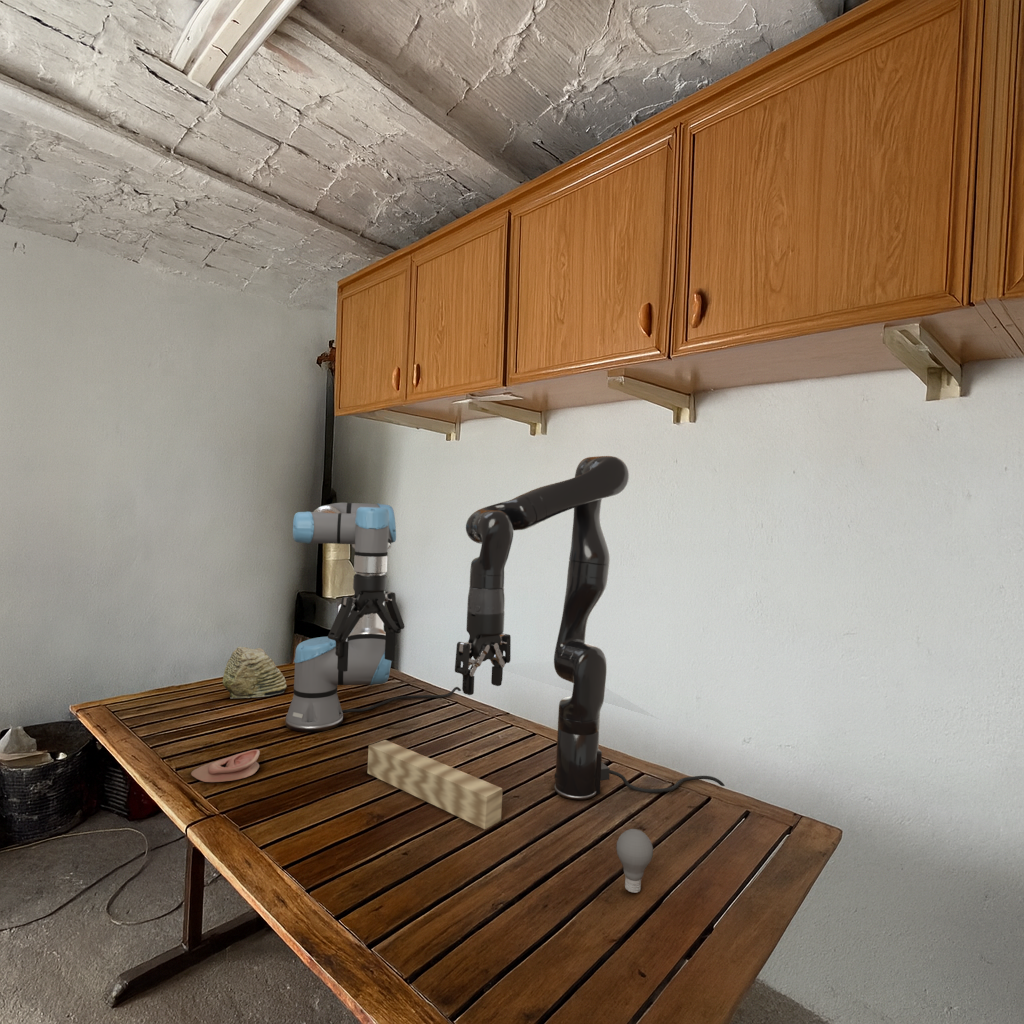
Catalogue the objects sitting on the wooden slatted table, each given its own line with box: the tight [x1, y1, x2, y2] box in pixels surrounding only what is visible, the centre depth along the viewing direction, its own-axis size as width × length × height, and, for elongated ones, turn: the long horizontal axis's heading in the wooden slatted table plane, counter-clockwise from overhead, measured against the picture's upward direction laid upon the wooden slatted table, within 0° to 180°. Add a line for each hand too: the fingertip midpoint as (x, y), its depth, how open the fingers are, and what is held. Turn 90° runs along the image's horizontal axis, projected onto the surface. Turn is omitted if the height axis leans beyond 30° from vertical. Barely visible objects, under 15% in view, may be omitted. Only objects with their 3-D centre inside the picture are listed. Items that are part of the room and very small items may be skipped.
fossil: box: [222, 646, 288, 699], centre depth 198 cm, size 9×18×15 cm, turn 132°
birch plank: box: [367, 739, 503, 830], centre depth 137 cm, size 36×5×6 cm, turn 51°
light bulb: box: [615, 828, 654, 894], centre depth 106 cm, size 6×6×10 cm
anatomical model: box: [190, 748, 261, 783], centre depth 143 cm, size 13×4×12 cm
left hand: (366, 664), depth 147 cm, fingers open, 13 cm apart
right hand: (482, 689), depth 127 cm, fingers open, 8 cm apart
